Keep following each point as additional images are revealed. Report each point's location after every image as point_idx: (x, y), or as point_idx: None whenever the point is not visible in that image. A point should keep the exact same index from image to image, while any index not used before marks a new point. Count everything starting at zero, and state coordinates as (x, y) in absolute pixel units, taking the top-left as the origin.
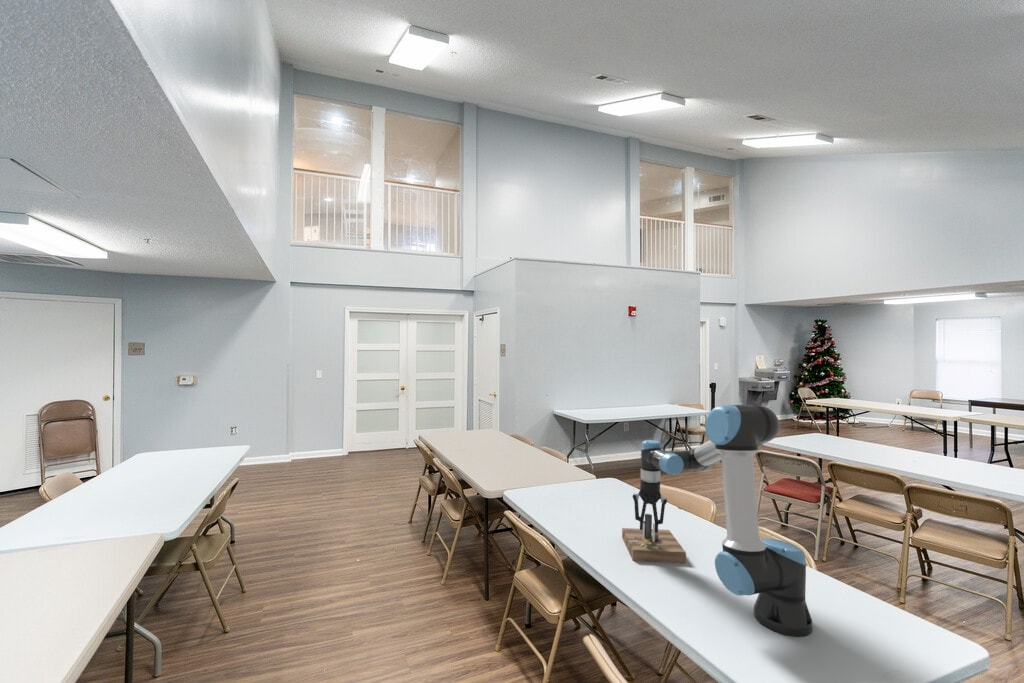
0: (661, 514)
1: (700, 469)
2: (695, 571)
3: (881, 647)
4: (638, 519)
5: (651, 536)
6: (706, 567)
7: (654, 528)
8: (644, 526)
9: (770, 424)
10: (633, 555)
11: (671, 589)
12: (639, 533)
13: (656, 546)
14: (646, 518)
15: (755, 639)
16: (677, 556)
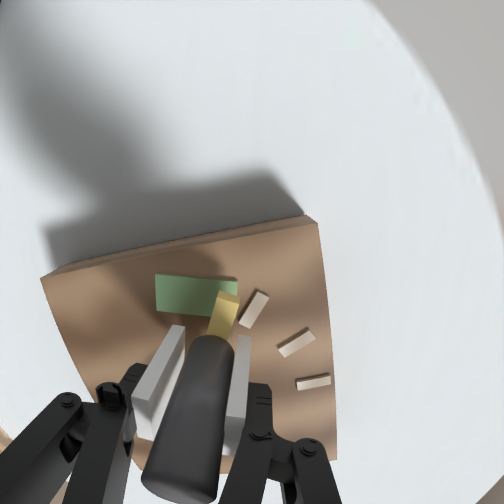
0: (28, 452)
1: None
2: (40, 199)
3: None
4: (289, 448)
5: (186, 355)
6: (15, 250)
7: (143, 377)
8: (230, 396)
9: None
10: (306, 218)
11: (146, 6)
12: None
13: (166, 308)
14: (202, 453)
15: None
16: (79, 265)
